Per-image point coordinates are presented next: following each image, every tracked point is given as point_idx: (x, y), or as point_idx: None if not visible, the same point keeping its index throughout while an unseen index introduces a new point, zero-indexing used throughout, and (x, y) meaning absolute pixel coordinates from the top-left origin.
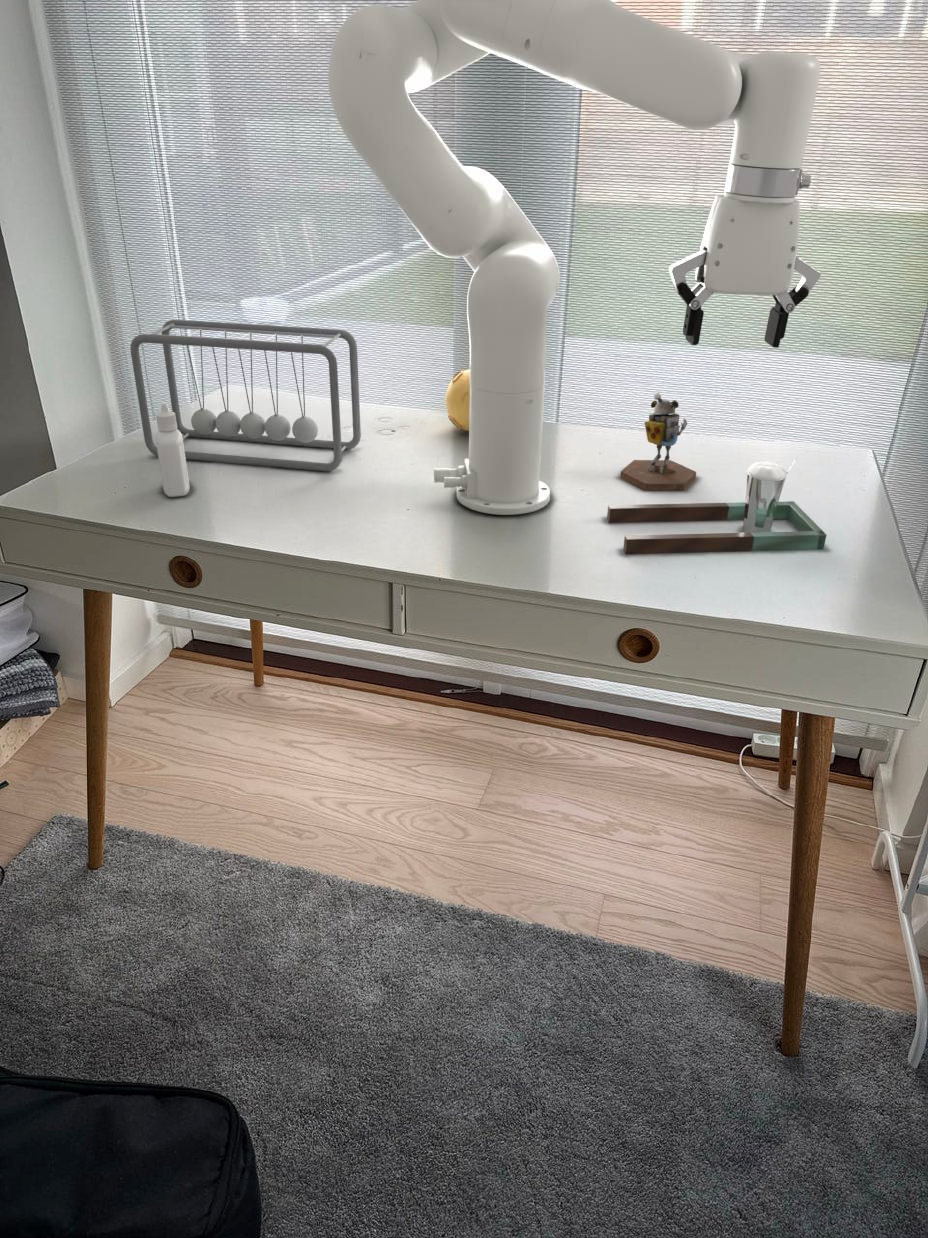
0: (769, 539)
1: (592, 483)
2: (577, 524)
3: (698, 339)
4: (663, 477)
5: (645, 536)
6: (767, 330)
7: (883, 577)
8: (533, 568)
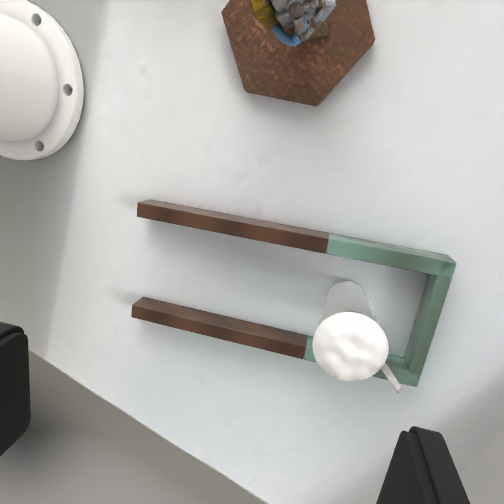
0: None
1: (167, 39)
2: (106, 205)
3: (11, 440)
4: (291, 62)
5: (156, 316)
6: (408, 494)
7: None
8: (37, 308)
